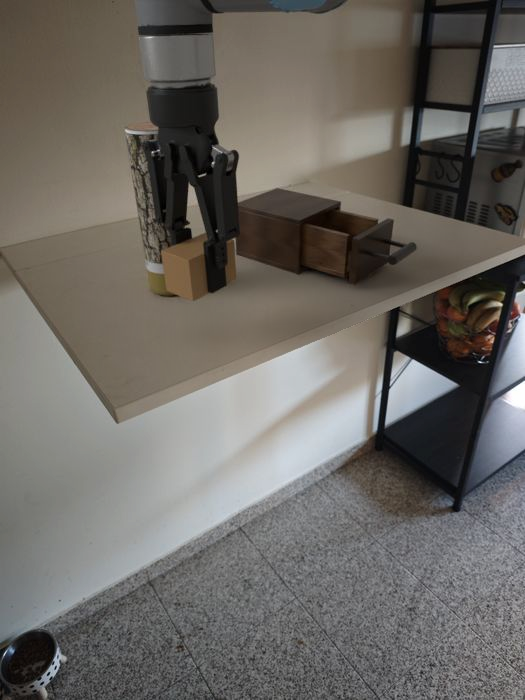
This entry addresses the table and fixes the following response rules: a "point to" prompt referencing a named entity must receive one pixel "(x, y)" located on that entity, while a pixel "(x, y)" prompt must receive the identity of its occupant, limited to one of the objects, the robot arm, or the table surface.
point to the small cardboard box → (192, 267)
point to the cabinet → (278, 226)
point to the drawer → (350, 245)
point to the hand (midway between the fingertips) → (201, 282)
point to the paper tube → (147, 205)
